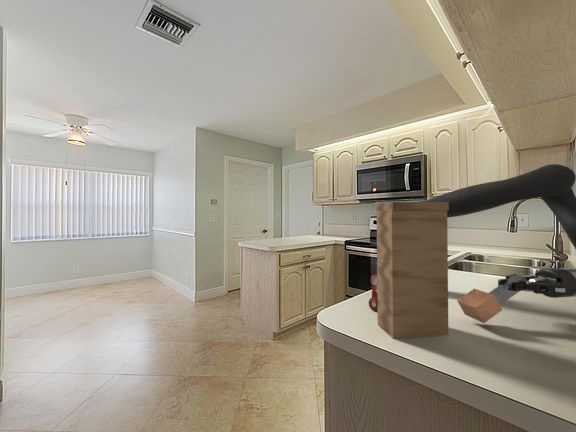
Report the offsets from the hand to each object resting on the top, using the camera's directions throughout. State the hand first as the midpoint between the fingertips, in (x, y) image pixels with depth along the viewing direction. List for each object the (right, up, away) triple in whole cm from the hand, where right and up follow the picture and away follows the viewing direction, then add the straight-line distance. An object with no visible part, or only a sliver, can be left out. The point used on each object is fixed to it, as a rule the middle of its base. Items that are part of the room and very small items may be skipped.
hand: (504, 285), depth 68 cm
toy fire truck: (-27, -11, +10) cm, 31 cm away
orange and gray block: (-2, -4, 0) cm, 4 cm away
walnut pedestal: (-26, -11, -3) cm, 28 cm away
